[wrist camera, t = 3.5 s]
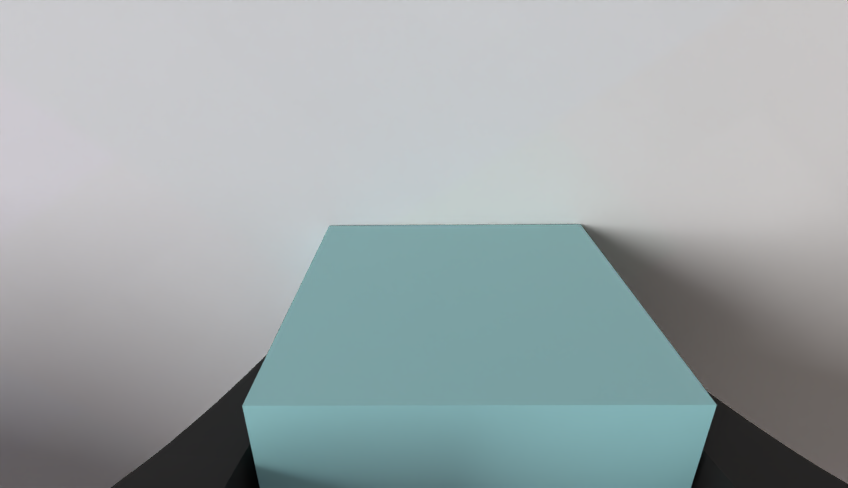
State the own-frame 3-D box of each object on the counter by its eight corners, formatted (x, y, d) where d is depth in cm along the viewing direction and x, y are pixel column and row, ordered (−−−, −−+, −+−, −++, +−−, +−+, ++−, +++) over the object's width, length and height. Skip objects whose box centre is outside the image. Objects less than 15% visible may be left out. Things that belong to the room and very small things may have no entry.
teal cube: (347, 416, 12) (297, 664, 7) (329, 225, 10) (241, 405, 5) (554, 416, 12) (635, 666, 7) (580, 223, 10) (717, 404, 5)
